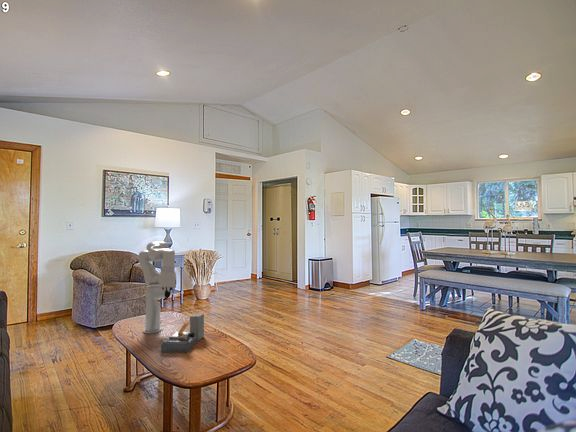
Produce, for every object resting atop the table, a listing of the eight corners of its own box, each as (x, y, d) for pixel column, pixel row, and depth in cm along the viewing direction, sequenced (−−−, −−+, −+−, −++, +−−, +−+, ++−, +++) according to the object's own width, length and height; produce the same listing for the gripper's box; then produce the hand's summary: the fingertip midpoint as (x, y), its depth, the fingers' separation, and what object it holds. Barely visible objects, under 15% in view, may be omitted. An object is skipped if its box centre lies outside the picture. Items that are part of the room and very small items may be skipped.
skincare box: (198, 341, 198) (199, 316, 199) (188, 340, 200) (189, 316, 200) (204, 336, 206) (205, 313, 207) (194, 335, 208) (195, 312, 208)
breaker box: (171, 341, 196) (172, 329, 197) (196, 342, 196) (196, 329, 196) (160, 352, 180) (161, 338, 181) (187, 352, 180) (187, 339, 180)
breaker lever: (180, 331, 191) (187, 320, 191) (182, 333, 191) (189, 321, 191) (177, 334, 186) (184, 322, 186) (179, 336, 186) (186, 324, 186)
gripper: (154, 269, 192) (153, 298, 192) (177, 270, 192) (176, 299, 191) (159, 268, 200) (158, 295, 199) (181, 268, 199) (180, 296, 199)
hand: (167, 297), depth 195 cm, fingers closed
